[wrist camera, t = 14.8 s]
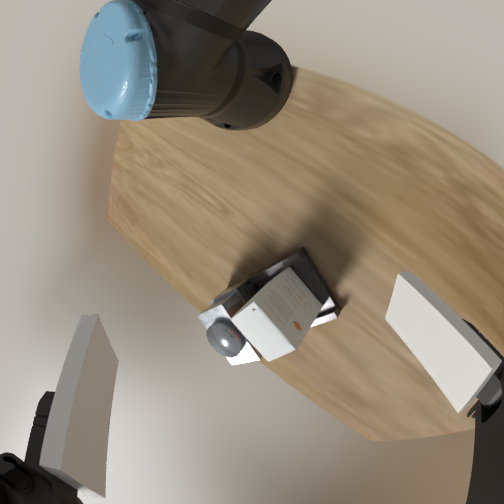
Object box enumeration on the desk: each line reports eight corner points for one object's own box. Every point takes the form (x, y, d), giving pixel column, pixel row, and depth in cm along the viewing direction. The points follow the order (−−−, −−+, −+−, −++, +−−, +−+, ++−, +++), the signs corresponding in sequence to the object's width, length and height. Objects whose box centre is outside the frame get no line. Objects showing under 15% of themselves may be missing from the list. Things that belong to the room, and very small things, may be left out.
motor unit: (226, 288, 51) (189, 317, 43) (303, 247, 40) (270, 278, 32) (259, 337, 51) (228, 372, 43) (341, 310, 40) (318, 353, 32)
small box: (266, 283, 44) (227, 318, 36) (289, 264, 41) (252, 299, 33) (299, 321, 44) (267, 363, 35) (324, 306, 40) (296, 350, 32)
